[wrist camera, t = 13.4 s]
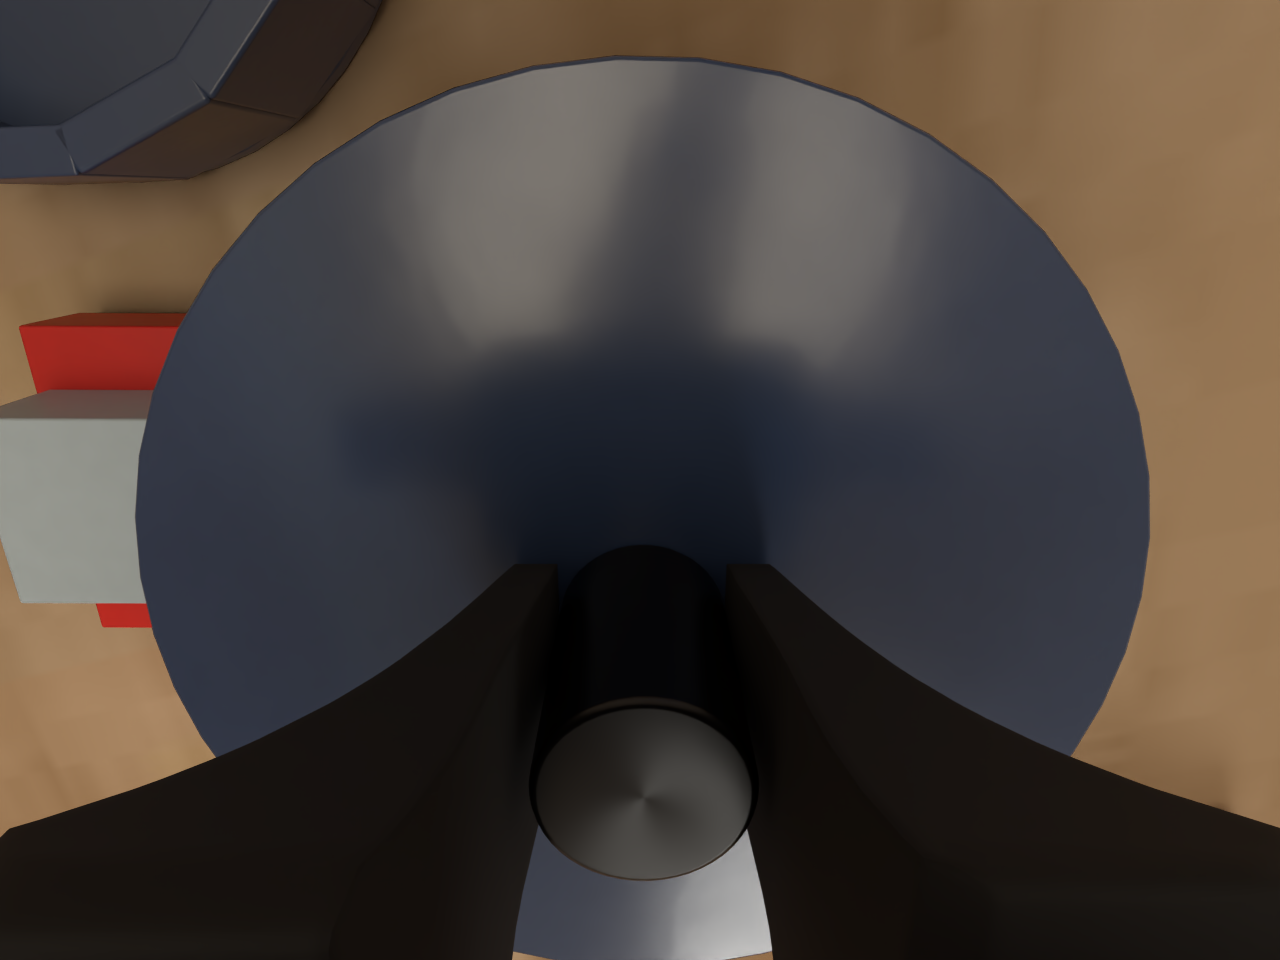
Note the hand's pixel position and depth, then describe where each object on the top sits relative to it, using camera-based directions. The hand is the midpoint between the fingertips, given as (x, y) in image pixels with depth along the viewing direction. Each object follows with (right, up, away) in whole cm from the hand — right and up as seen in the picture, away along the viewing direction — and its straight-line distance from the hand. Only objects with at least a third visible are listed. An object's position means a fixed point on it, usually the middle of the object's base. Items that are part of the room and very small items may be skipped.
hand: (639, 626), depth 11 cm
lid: (0, 0, +1) cm, 1 cm away
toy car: (-10, +3, +8) cm, 13 cm away
